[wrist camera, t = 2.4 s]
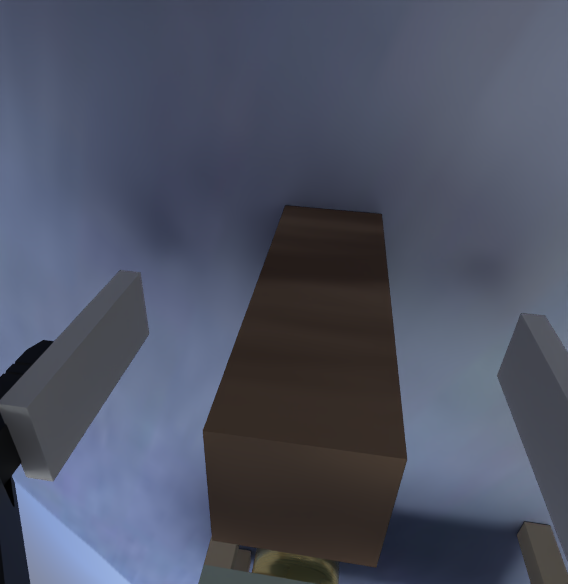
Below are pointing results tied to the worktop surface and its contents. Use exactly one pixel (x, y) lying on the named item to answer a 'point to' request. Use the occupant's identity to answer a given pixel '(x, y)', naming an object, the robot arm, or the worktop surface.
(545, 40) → the worktop surface
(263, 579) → the cabinet
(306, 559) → the token
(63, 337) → the robot arm
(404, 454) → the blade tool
